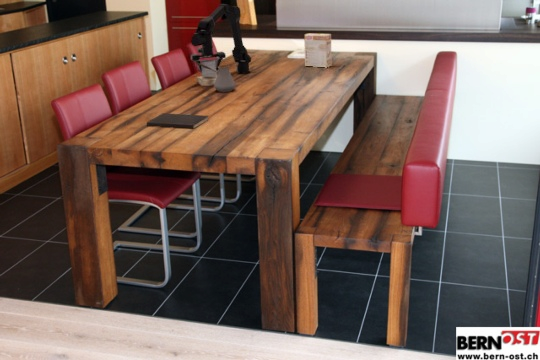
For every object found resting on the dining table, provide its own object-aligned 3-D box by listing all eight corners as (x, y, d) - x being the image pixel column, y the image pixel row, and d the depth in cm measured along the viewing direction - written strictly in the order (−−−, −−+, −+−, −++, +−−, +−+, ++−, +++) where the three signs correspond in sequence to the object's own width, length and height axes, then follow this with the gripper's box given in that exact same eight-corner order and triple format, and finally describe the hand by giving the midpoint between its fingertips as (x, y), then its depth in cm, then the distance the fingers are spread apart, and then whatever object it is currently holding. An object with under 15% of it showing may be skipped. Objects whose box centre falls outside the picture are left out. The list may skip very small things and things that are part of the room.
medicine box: (217, 75, 393) (216, 59, 390) (215, 76, 388) (214, 61, 385) (203, 75, 393) (202, 60, 390) (201, 77, 389) (200, 61, 386)
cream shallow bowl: (217, 80, 399) (217, 74, 398) (222, 84, 388) (222, 78, 387) (197, 82, 396) (196, 76, 395) (201, 86, 385) (201, 80, 384)
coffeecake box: (331, 66, 424) (331, 33, 418) (326, 68, 419) (325, 35, 412) (310, 64, 432) (309, 32, 426) (304, 66, 427) (303, 34, 420)
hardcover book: (163, 118, 325) (163, 113, 325) (208, 120, 318) (208, 115, 317) (146, 127, 311) (146, 122, 310) (193, 130, 304) (193, 125, 303)
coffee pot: (238, 88, 377) (236, 60, 372) (233, 93, 366) (231, 64, 361) (200, 87, 381) (198, 60, 376) (193, 92, 371) (191, 64, 366)
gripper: (220, 40, 394) (222, 67, 400) (187, 42, 389) (189, 70, 395) (225, 42, 384) (226, 71, 390) (191, 45, 379) (193, 74, 385)
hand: (209, 71), depth 390 cm, fingers closed on medicine box, 9 cm apart
